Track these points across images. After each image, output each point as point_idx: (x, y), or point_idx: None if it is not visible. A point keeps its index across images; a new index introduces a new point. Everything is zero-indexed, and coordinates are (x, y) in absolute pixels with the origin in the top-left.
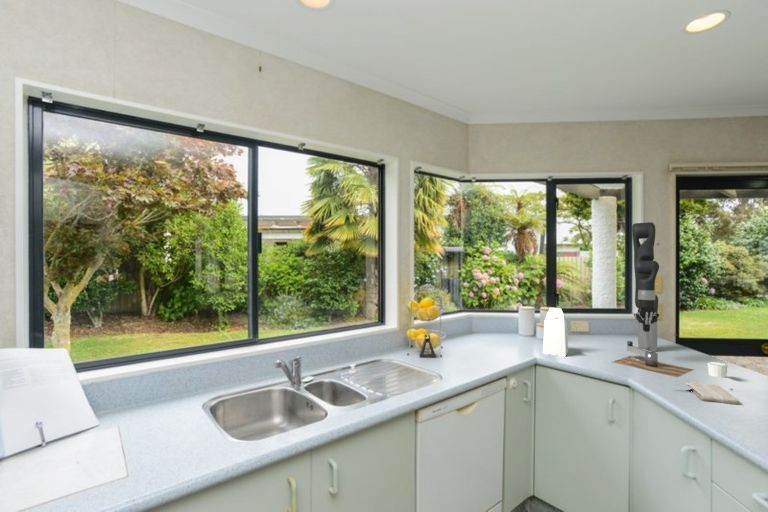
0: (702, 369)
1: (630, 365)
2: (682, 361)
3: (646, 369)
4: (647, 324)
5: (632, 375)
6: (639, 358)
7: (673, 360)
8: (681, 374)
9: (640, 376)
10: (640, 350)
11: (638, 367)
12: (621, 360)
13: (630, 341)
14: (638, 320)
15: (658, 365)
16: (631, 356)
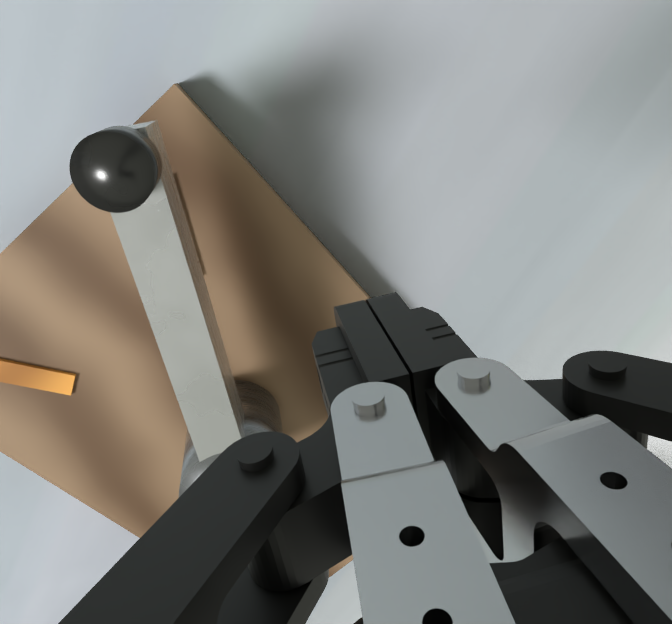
0: (610, 345)
1: (46, 449)
2: (650, 126)
3: (143, 522)
4: (432, 449)
5: (14, 582)
6: (237, 190)
7: (596, 98)
8: (336, 566)
9: (67, 587)
10: (174, 387)
11: (97, 489)
12: (4, 304)
13: (126, 157)
14: (184, 540)
15: (298, 401)
16: (180, 110)
